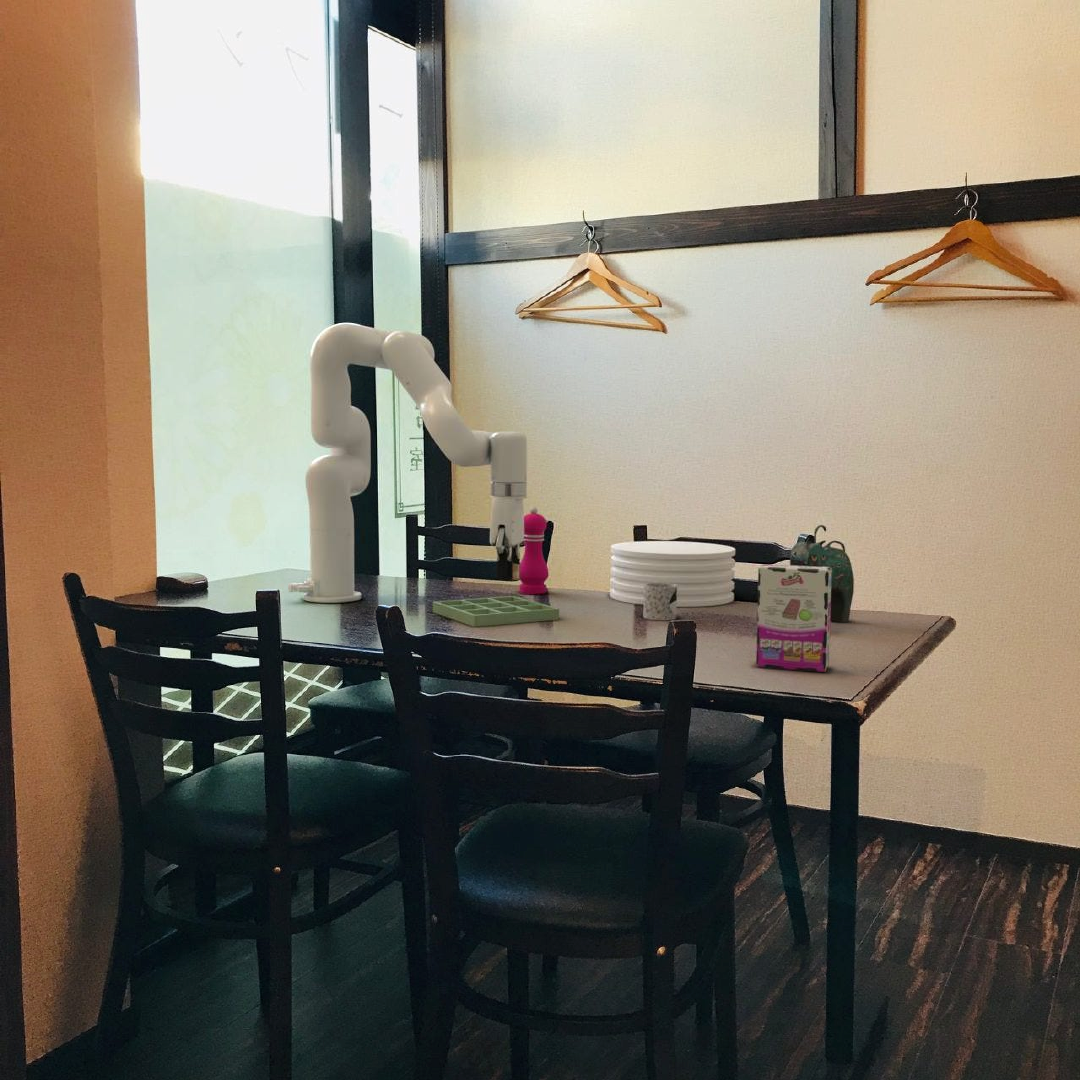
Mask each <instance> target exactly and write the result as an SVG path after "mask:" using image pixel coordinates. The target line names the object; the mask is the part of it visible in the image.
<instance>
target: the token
mask: <svg viewBox="0 0 1080 1080" xmlns="http://www.w3.org/2000/svg"><path fill="white" fill-rule="evenodd" d="M518 580H520V579H519V564H513V579H512V580H511V581H518Z"/></svg>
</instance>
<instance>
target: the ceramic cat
mask: <svg viewBox="0 0 1080 1080" xmlns="http://www.w3.org/2000/svg"><path fill="white" fill-rule="evenodd" d="M820 528H822V529H823V531H824V532H827V526H826V525H824V524H819V525H817V526H816V527H815V529H814V533H813V542H814V543H813V542H811V538H810V537H808V538H807V539H806V541H798V542H797V543H796V544H794V545H793V546H792V549H791V552H790V557H789V565H791V566H815V567H831V568H832V575H831V611H830V622H835V623H847V622H849V621H850V615H851V608H852V603H853V597H854V590H855V589H854V588H855V579H854V572H853V567H852V562H851V560H850V557H849V555H848V554H847V552H846V547H845V544H844V543H843V542H841V541H839V540H831V541H830V542H828V543H826V540H821V541H819V542H817V533H818V531H819V529H820ZM825 543H826V544H825ZM834 543H835V544H838V545H840V546H841V548H842V549H841V548H838V547H832V546H831V545H832V544H834ZM824 544H825V545H824ZM823 545H824V546H823Z"/></svg>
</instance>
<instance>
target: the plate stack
mask: <svg viewBox="0 0 1080 1080" xmlns="http://www.w3.org/2000/svg"><path fill="white" fill-rule="evenodd" d="M610 552H611V553H612V554H613V555H611V556H610V564H611V565H613V566H611V567H610V572H609V573H610V576H611V578H610V580H609V585H610V587H612V588H610V590H609V597H610V598H611V599H613V600H615V601H619V602H623V603H628V604H634V605H642V606H644V584H647V583H670V584H675V585H677V604H676V608H695V607H696V608H697V607H712V606H713V607H715V606H720V605H721V606H722V605H727V604H730V603H732V602H733V601H734V600H735V593H734V592H733V590H734V589H735V581H733V579H734V578H735V577H736V576H735V573H736V572H735V570H734V569H733V568H734V567H735V566H736V560H735V559H734V558H732V557H734V556H736V548H735V547H733V546H730V545H724V544H719V543H709V542H698V541H674V540H643V541H641V540H639V541H625V542H618V543H614V544H611V545H610ZM612 576H613V577H612Z"/></svg>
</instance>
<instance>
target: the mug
mask: <svg viewBox="0 0 1080 1080" xmlns="http://www.w3.org/2000/svg"><path fill="white" fill-rule="evenodd" d="M676 604H677V585H675V584H670V583H647V584H644V605H643V607H642V608H643V611H642V612H643V613H642V614H643V615H642V616H643V619H646V620H651V621H673V620H676V619H677V607H676Z"/></svg>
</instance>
